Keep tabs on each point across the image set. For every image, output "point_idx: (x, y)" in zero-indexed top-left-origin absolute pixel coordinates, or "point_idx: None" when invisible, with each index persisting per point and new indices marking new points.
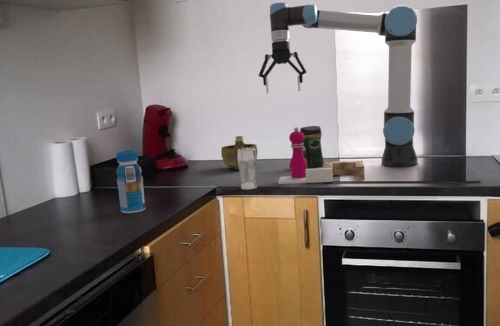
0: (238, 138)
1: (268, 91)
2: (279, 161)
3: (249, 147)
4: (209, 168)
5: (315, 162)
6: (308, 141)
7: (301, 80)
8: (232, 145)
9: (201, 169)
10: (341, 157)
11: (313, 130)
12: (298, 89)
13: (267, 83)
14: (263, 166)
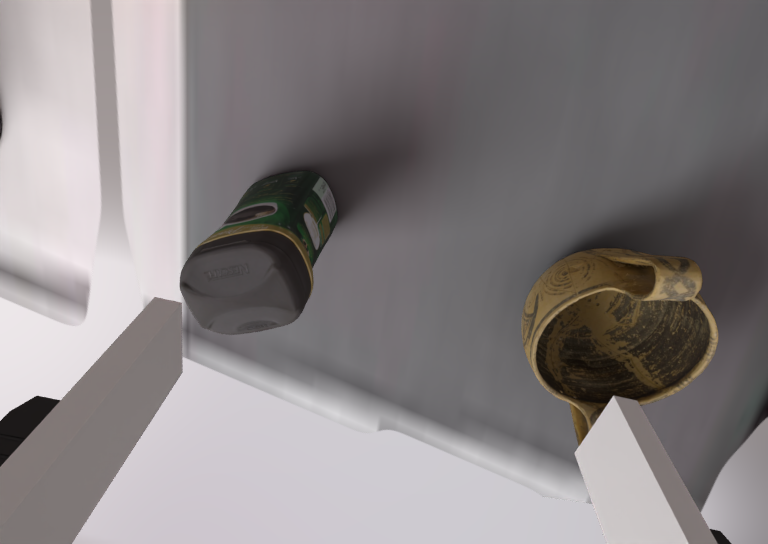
0: None
1: (611, 429)
2: (408, 370)
3: (586, 292)
4: None
5: (277, 178)
6: (277, 217)
7: (11, 431)
8: None
9: (733, 346)
10: None
11: (225, 247)
12: (167, 316)
13: (689, 535)
14: (486, 299)
